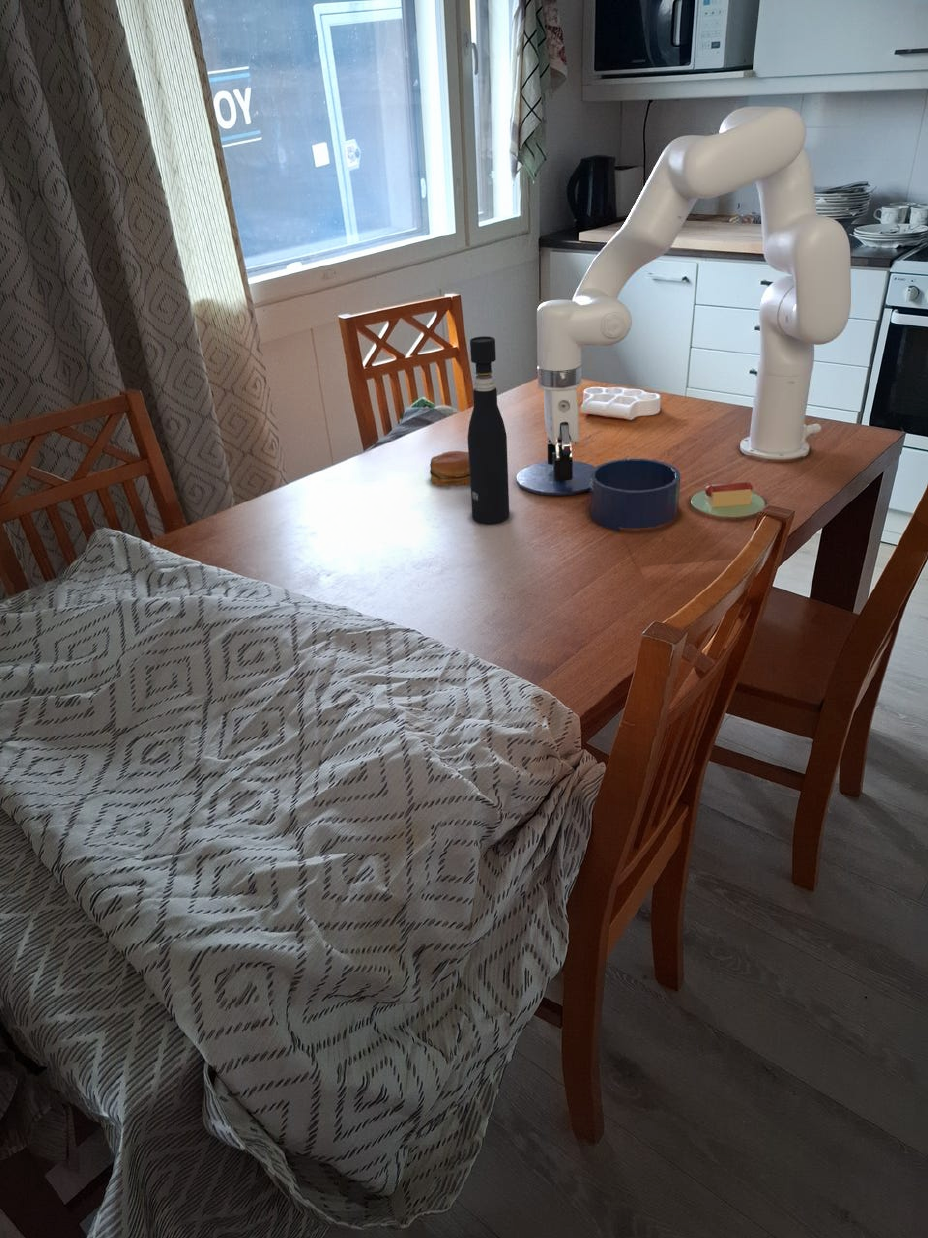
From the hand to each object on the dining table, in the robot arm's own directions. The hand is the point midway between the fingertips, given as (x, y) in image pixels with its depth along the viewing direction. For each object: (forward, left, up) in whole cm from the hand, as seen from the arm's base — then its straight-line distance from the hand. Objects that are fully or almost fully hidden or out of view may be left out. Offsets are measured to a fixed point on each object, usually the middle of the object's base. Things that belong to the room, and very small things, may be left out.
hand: (559, 471), depth 158 cm
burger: (+16, -12, -2) cm, 20 cm away
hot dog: (-18, +25, -1) cm, 31 cm away
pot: (-3, +19, -2) cm, 19 cm away
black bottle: (+18, +7, -2) cm, 19 cm away
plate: (-18, +25, -2) cm, 31 cm away
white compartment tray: (-32, -28, -2) cm, 43 cm away
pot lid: (0, 0, -1) cm, 1 cm away
